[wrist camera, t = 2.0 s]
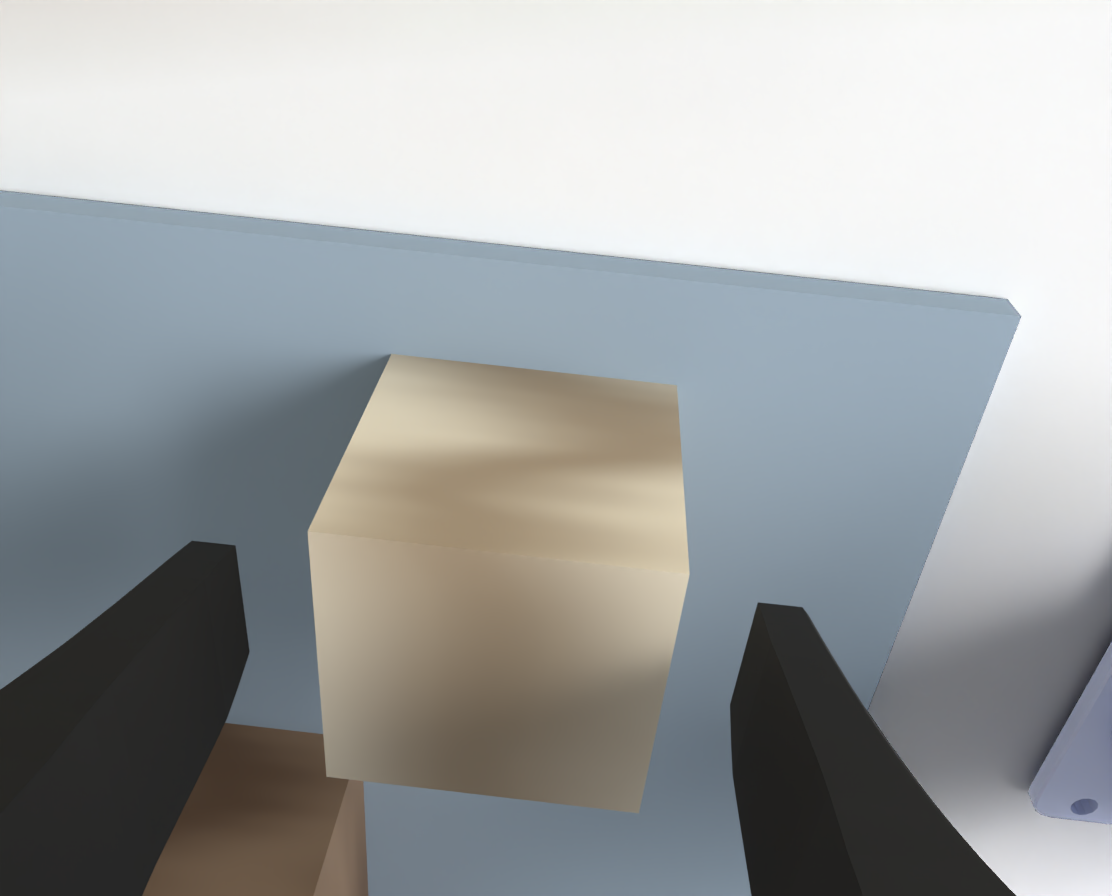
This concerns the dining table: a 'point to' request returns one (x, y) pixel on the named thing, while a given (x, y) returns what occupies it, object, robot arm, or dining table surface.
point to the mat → (486, 338)
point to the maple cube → (501, 583)
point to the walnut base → (266, 823)
